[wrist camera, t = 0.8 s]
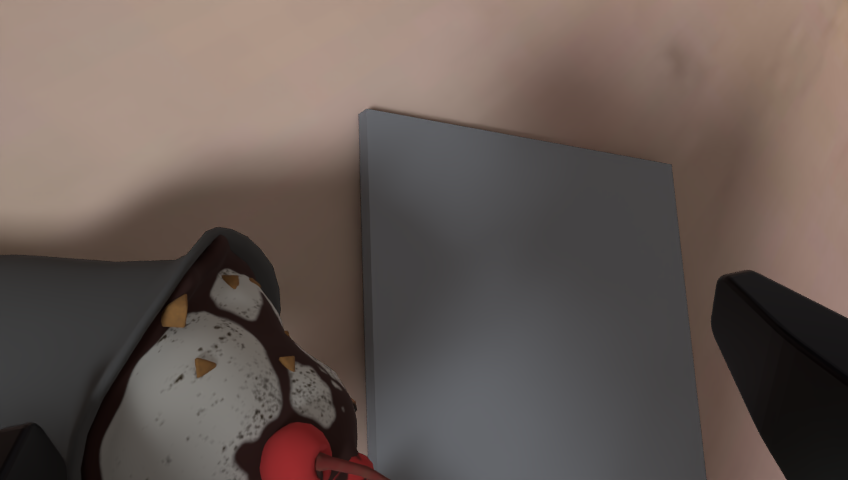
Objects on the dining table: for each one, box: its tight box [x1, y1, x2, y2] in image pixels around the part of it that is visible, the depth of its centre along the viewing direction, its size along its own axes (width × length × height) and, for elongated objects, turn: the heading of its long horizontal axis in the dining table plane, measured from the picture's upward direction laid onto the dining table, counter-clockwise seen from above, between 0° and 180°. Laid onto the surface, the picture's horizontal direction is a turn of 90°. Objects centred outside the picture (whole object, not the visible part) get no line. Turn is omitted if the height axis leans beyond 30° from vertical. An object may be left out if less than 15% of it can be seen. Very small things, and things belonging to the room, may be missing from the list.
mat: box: [359, 109, 707, 480], centre depth 28 cm, size 16×16×1 cm
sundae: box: [0, 227, 390, 480], centre depth 13 cm, size 7×7×15 cm
